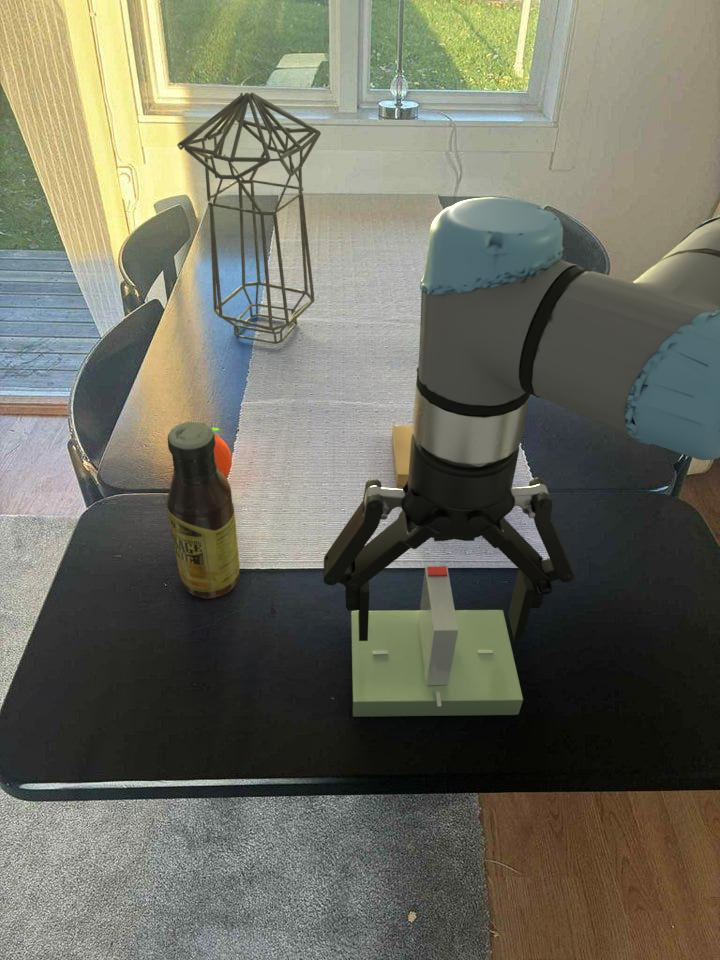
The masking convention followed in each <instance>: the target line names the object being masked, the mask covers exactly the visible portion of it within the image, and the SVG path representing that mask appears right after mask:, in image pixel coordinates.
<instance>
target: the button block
mask: <svg viewBox="0 0 720 960" xmlns="http://www.w3.org/2000/svg"><path fill="white" fill-rule="evenodd" d="M412 434H413V431H412V425H392V428H391V444H392V454H393V464H394V465H393V466H394V473H395V474H394V475H395V477H394V478H395V485H396V489H402V487H403V486H404V485H405V484H406V482H407V480H408V474H409V461H410V448H411V437H412Z"/></svg>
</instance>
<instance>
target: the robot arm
mask: <svg viewBox="0 0 720 960" xmlns="http://www.w3.org/2000/svg"><path fill="white" fill-rule="evenodd" d="M563 237H564V228H563V225H562V223H561V220H560V219H559V217H558V216H556V214H554V213H553V212H552V211H548V210H545V209H544V208H542V207H541V205H539V204H537V203H533V202H529V201H526V200H521V199H515V198H510V197H494V196H493V197H476V198H470V199H465V200H462V201H461V200H460V201H458V202H456V203H454V204H453V205H451V206H447V207H446V208H444V209H443V210H442V211H440V213H438V214H437V215H436V216H435V218H434V219H433V221H432V223H431V225H430V229H429V233H428V241H427V247H426V248H427V249H426V255H425V262H424V269H423V277H422V278H421V279H420V286H419V289H420V291H421V296H420V297H421V298H420V325H419V326H420V327H419V328H420V329H419V332H420V333H419V348H418V363H417V368H416V379H415V391H414V403H413V413H412V425H411V426H412V431H413V434H412V437H411V448H410V461H409V474H408V480H407V482H406V484H405V485H404V486H403V487H402V488H394V487H393V488H392V487H391V488H390V487H382V482H381V480H379V479H377V478H370V479H369V480H367V481H366V483H365V486H364V491H363V496H362V497H363V498H362V501H361V502H360V503H359V506H358V507H357V508H356V510H355V511H354V512H353V514H352V516H351V517H350V518H349V519H348V521H347V523H346V524H345V525H344V527H343V529H342V530H341V531H340V533H339V534H338V535H337V537H336V539H335V540H334V541H333V543H332V544H331V546H330V547H329V549H328V551H327V552H326V553H325V555H324V557H323V583H324V584H325V585H327V586H334V585H337V584H338V583H339V584H341V585H343V586H344V588H345V608H346V610H347V611H349V612H351V611H358V619H359V641H368V617H369V611H370V580H372V579H373V578H375V576H377V575H379V573H381V572H382V571H384V570H385V569H386V568H388V567H389V566H390V565H391V564H392V563H394V562H395V561H397V559H399V558H400V557H401V556H403V555H404V554H405V553H407V551H409V550H410V549H412V550H416V549H418V548H420V547H421V546H422V545H424V544H425V543H426V542H427V541H429V540H430V539H433V541H434V542H446V541H452V540H457V541H462V542H474V541H475V539H476V538H479V537H482V538H483V539H484V540H485V541H486V542H487V543H488V544H489V545H490V546H492V548H493V549H498V550H499V551H500V552H501V553H502V554H503V555H504V556H505V557H506V558H507V559H508V560H510V562H511V563H512V564H513V565H514V566H515V567H516V568H517V569H518V572H517V575H516V578H515V579H516V580H515V583H514V588H513V593H512V596H511V602H510V605H509V610H508V613H507V615H508V619H509V623H510V628H511V633H512V637H513V639H514V640H523V638H524V634H525V631H526V627H527V623H528V620H529V616H530V613H531V609H539V608H541V606H542V605H543V602H544V598H545V596H546V595H549V594H551V593H552V592H553V590H554V587H553V585H552V582H553V581H557V580H559V582H562V583H569V582H571V581H573V580H574V578H575V574H574V570H573V568H572V566H571V563H570V559H569V557H568V554H567V551H566V549H565V546H564V544H563V542H562V539H561V537H560V535H559V532H558V530H557V528H556V525H555V523H554V520H553V518H552V511H553V501H552V497H551V495H550V492H549V488H548V487H547V483H546V481H545V479H544V478H542V477H534V478H532V479H531V480H530V481H529V483H528V486H519V487H513V485H514V484H513V482H514V478H515V473H516V468H517V463H518V460H519V453H520V445H521V443H522V441H523V435H524V431H525V426H526V425H525V424H526V420H527V413H528V409H529V402H530V397H531V396H534V397H536V398H541V399H543V400H546V401H548V402H550V403H552V404H555V405H558V406H560V407H561V408H564V409H566V410H569V411H571V412H574V413H575V414H578V415H579V416H582V417H585V418H587V419H590V420H592V421H593V422H596V423H599V424H600V425H603V426H605V427H608V428H609V429H613V430H615V431H617V432H619V433H622V434H624V435H626V436H629V437H630V438H631V439H633V440H635V441H636V442H638V443H639V444H645V445H648V446H650V445H655V446H658V447H660V448H664V449H666V450H670V451H672V452H675V453H678V454H681V455H684V456H687V457H689V458H693V459H695V460H699V461H712V460H717V459H719V458H720V214H719V215H717V216H715V217H713V218H710V219H707V220H705V221H703V222H701V223H700V224H699V225H698V226H697V227H695V228H694V229H693V230H691V231H689V232H688V233H687V234H686V235H685V237H683V238H682V240H680V242H679V243H678V244H677V245H676V246H675V247H674V248H672V249H671V251H669V252H668V253H667V254H666V255H664V256H663V257H662V258H661V259H660V260H658V261H657V262H656V263H654V265H653V266H651V267H650V268H649V269H647V270H646V271H645V272H644V273H643V274H641V275H640V276H639V277H638V278H636V279H635V280H633V281H629V280H626V279H622V278H619V277H615V276H612V275H608V274H604V273H601V272H597V271H593V270H591V269H588V268H585V267H581V266H580V265H579V264H575V263H571V262H568V261H565V260H564V259H562V257H563V251H564V250H565V249H564V246H563V240H564V239H563ZM515 507H519V508H520V509H521V511H522V513H523V514H524V515H527V517H528V518H529V519H533V521H534V525H535V529H536V530H537V533H538V535H539V537H540V540H541V542H542V544H543V546H544V548H545V551H546V553H547V555H548V557H547V558H544V557H543V556H542V555H541V554H540V553H539V552H538V551H537V550H536V549H535V548H534V546H532V545H531V544H530V543H529V542H528V541H527V540H526V539H525V538H524V537H523V535H522V534H521V533H519V531H518V530H517V529H516V528H515V527H514V526H513V525H512V524H511V523H510V522H509V521H508V520H507V519H506V518H505V517H506V516H508V515H509V513H511V512H512V511H513V509H514V508H515ZM396 508H401V511H400V512H399V514H398V517H397V519H395V520H394V521H393V522H392V523H391V524H390V525H388V526H387V527H386V528H385V529H384V530H382V531H381V532H380V533H379V534H377V535H375V537H373V538H372V536H373V535H374V533H375V532H376V531H377V529H378V528H379V525H380V522H381V520H382V521H383V520H387V519H388V517H389V515H390V514H391V512H392V511H393V510H394V509H396ZM371 538H372V539H371ZM369 540H370V541H369Z"/></svg>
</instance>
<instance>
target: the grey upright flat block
mask: <svg viewBox="0 0 720 960" xmlns="http://www.w3.org/2000/svg"><path fill="white" fill-rule="evenodd" d="M455 610H456V608H455V603H454V597H453V591H452V586H451V580H450V574H449V568H448V566H446V565H439V566H437V565H435V566H434V565H430V566H425V567H424V574H423V582H422V590H421V597H420V605H419V611H420V613H419V621H418V624H419V632H420V640H421V648H422V656H423V664H424V672H425V680H426V685H448V684H449V678H450V673H451V667H452V662H453V657H454V651H455V646H456V640H457V635H458V625H457V619H456V613H455Z"/></svg>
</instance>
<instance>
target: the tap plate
mask: <svg viewBox="0 0 720 960" xmlns="http://www.w3.org/2000/svg"><path fill="white" fill-rule="evenodd" d="M419 613H420V610H369V617H368V641H359V619H358V611H350V651H351V652H350V653H351V657H350V659H351V701H352V702H351V704H352V705H351V706H352V709H351V710H352V717H354V718H359V717H364V718H366V717H370V718H371V717H441V716H442V717H443V716H445V717H446V716H448V717H449V716H451V717H452V716H456V717H457V716H515V715H516V716H518V715H519V714H520V711H521V708H522V705H523V702H524V698H523V693H522V689H521V685H520V680H519V675H518V671H517V665H516V662H515V658H514V653H513V649H512V645H511V644H512V643H511V640H510V635H509V632H508V628H507V622H506V618H505V617H506V616H505V614H504V613H505V612H504V610H503V609H457V610H456V609H455V613H456V619H457V625H458V635H457V640H456V646H455V651H454V657H453V662H452V667H451V673H450V678H449V684H448V685H426V680H425V672H424V664H423V656H422V648H421V640H420V632H419V624H418V621H419Z"/></svg>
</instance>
